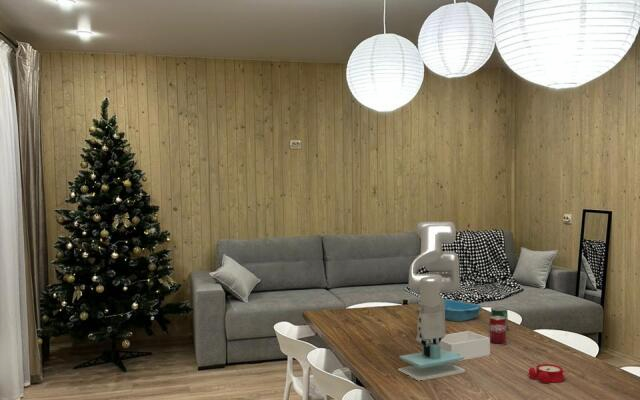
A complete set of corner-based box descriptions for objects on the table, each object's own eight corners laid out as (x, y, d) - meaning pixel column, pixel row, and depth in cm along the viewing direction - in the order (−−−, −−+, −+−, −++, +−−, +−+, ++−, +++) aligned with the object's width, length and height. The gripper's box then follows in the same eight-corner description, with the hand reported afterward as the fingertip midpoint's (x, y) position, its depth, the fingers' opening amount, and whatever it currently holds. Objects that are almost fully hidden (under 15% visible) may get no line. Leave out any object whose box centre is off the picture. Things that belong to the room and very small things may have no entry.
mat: (398, 371, 229) (397, 368, 229) (443, 362, 238) (443, 360, 238) (418, 381, 216) (418, 378, 216) (465, 372, 225) (465, 369, 225)
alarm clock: (573, 370, 213) (543, 367, 207) (570, 387, 213) (540, 384, 207) (551, 362, 223) (522, 359, 217) (549, 379, 222) (519, 376, 216)
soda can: (507, 345, 260) (506, 319, 260) (490, 345, 261) (490, 319, 261) (505, 341, 267) (505, 315, 267) (489, 341, 268) (488, 315, 268)
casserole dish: (411, 314, 330) (411, 302, 330) (437, 308, 344) (437, 296, 344) (463, 325, 301) (462, 311, 301) (489, 318, 314) (489, 305, 314)
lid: (420, 370, 216) (419, 351, 216) (399, 360, 229) (398, 343, 229) (467, 361, 225) (466, 344, 225) (444, 352, 238) (444, 336, 238)
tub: (451, 363, 236) (451, 344, 236) (431, 355, 249) (431, 336, 248) (490, 356, 244) (489, 337, 244) (468, 348, 257) (468, 330, 257)
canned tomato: (506, 328, 291) (505, 306, 291) (509, 332, 283) (509, 310, 283) (490, 328, 292) (489, 307, 292) (493, 332, 284) (492, 310, 284)
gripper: (417, 312, 220) (419, 360, 220) (452, 308, 226) (453, 354, 227) (407, 309, 226) (408, 356, 227) (441, 305, 233) (442, 350, 233)
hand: (430, 354), depth 227 cm, fingers closed on lid, 3 cm apart
